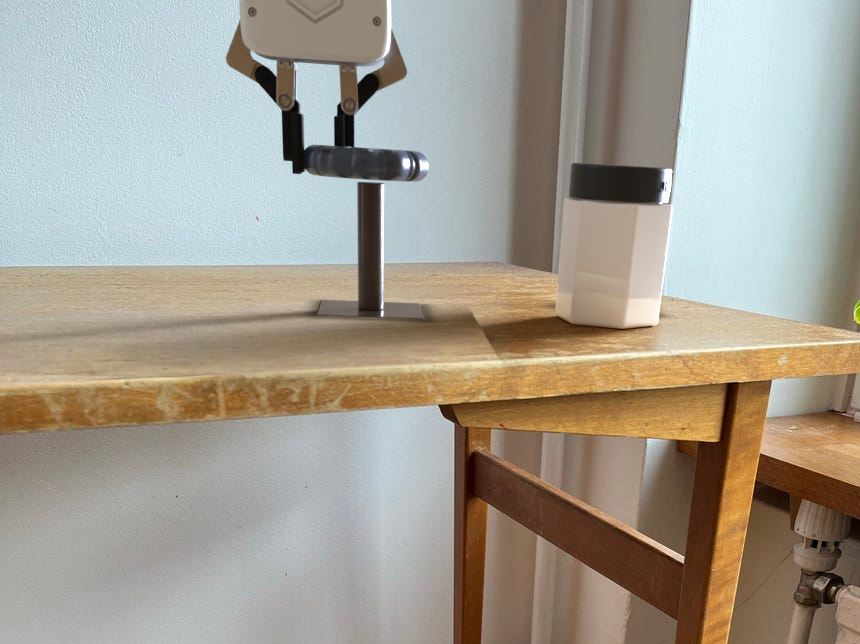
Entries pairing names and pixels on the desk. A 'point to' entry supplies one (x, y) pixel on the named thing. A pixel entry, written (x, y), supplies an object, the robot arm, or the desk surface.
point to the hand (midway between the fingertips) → (319, 172)
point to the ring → (365, 163)
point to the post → (370, 264)
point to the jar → (614, 245)
